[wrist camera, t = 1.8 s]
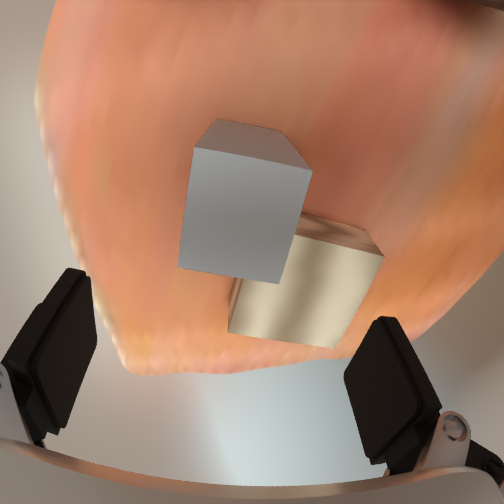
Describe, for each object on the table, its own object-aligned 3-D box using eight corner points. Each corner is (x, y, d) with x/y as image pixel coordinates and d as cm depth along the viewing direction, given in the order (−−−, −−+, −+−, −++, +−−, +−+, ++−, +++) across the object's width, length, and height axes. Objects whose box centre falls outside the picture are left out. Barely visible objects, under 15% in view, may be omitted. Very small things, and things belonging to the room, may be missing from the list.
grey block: (281, 131, 28) (313, 171, 16) (264, 200, 31) (278, 284, 19) (216, 118, 27) (194, 147, 15) (203, 189, 31) (177, 267, 18)
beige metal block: (364, 228, 33) (384, 256, 28) (324, 313, 39) (335, 348, 34) (256, 200, 32) (259, 226, 26) (229, 296, 37) (227, 332, 32)
